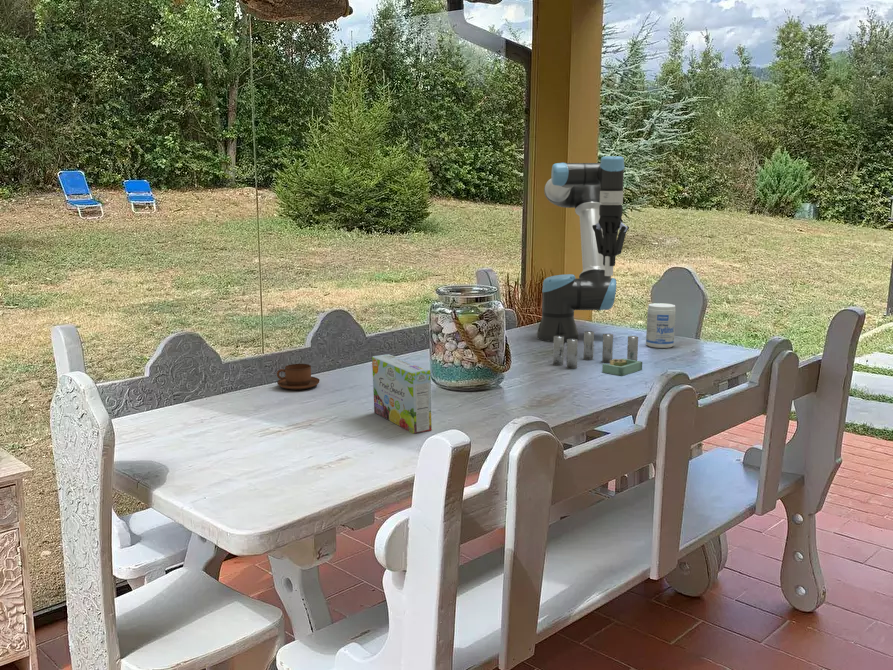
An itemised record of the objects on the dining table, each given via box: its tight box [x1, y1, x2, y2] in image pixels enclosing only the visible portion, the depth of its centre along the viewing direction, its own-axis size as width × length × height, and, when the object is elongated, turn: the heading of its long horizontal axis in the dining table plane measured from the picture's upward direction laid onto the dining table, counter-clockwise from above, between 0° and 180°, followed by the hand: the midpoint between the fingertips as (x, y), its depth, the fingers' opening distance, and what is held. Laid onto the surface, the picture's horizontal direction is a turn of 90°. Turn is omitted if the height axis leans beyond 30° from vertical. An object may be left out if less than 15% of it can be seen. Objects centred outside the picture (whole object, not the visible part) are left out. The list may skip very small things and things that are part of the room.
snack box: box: [371, 353, 433, 435], centre depth 208 cm, size 21×6×15 cm, turn 32°
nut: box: [609, 358, 627, 366], centre depth 262 cm, size 5×4×3 cm
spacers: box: [552, 330, 639, 370], centre depth 269 cm, size 21×20×9 cm
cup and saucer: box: [276, 363, 320, 391], centre depth 243 cm, size 12×12×6 cm
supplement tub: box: [645, 302, 677, 349], centre depth 298 cm, size 10×10×15 cm
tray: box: [601, 358, 643, 377], centre depth 261 cm, size 7×11×2 cm, turn 136°
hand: (608, 275), depth 283 cm, fingers closed
